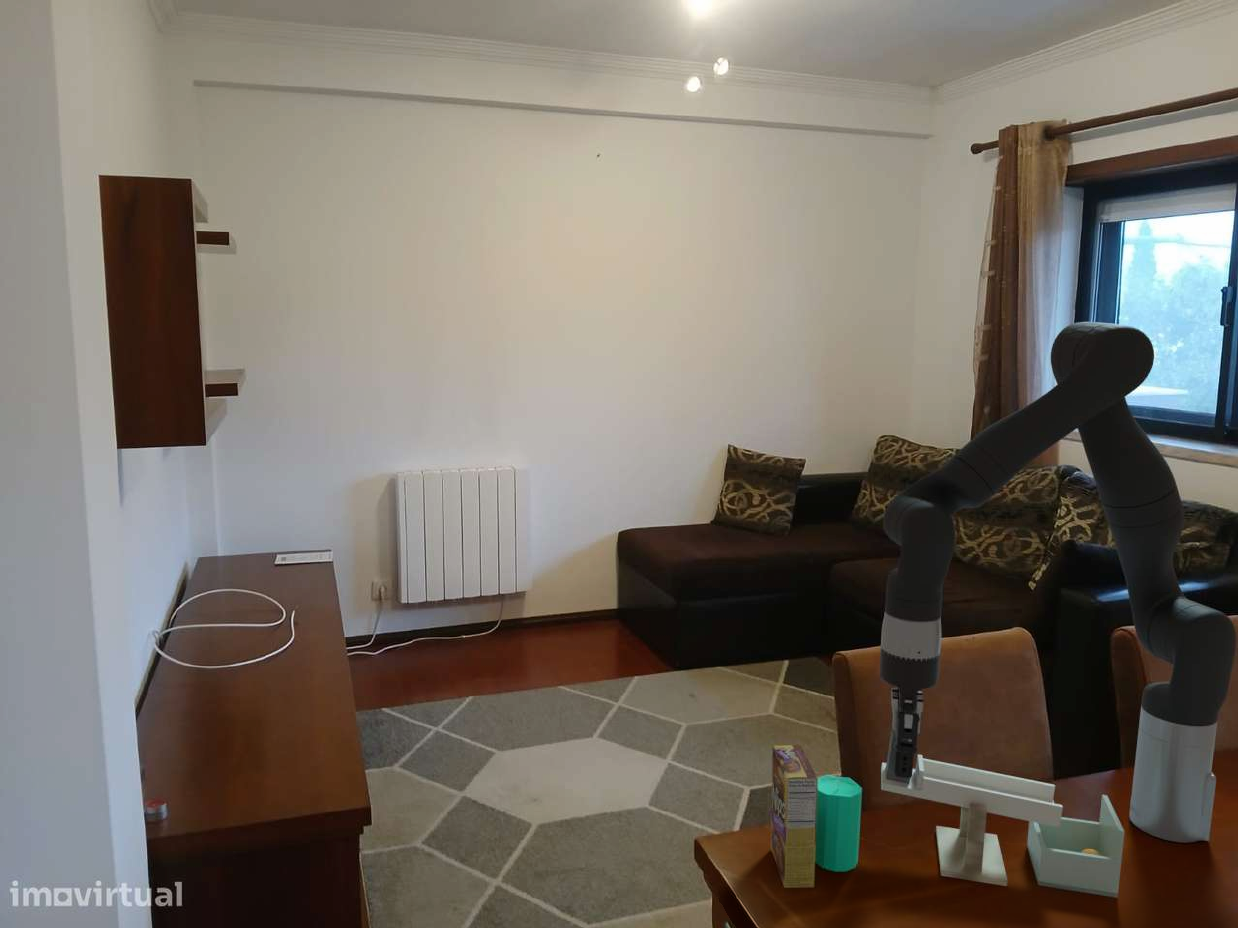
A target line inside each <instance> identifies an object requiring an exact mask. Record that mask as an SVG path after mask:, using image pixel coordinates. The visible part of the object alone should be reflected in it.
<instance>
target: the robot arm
mask: <svg viewBox="0 0 1238 928" xmlns="http://www.w3.org/2000/svg"><path fill="white" fill-rule="evenodd" d="M1154 361H1155V350H1154V346H1153V343H1152V340H1151V339H1150V338H1149V337H1148V335H1147V334H1146V333H1144V331H1142V330H1140V329H1139V328H1136V327H1133V326H1130V325H1127V324H1126V325H1125V324H1118V323H1109V322H1108V323H1107V322H1101V321H1100V322H1099V321H1097V322H1096V321H1081V322H1079V321H1078V322H1074V323H1072V324H1069V325H1067V326H1065V327H1063V329H1061V331H1060V332H1059V333H1058V334H1057V336H1056V337H1055V339H1054V341H1053V343H1052V346H1051V350H1050V366H1051V370H1052V374H1053V376H1054V380H1055V381H1056V385H1055V386H1053V388H1052V389H1050V390H1049V391H1048V392H1046V393H1045V394H1043V395H1042V396H1041V397H1039V398H1038V399H1036V400H1034V401H1032V402H1031V403H1029V404H1027V405H1026V406H1024V407H1022V408H1020V409H1018V410H1016V411H1015V412H1013V413H1011V414H1009V415H1007V416H1004V417H1003V418H1001V419H1000V420H998V421H995V422H994V423H993V424H991V425H989V426H988V427H987V428H985V429H983V430H982V431H981V432H979V433H978V434H976V435H975V436H974V437H973V438H972V439H970V441H968V443H966V444H965V445H964V446H963V447H962V448H961V449H959V450H958V451H957V452H956V453H955V454H954V455H953V456H952V457H951V458H950V459H949V460H947V462H946V463H944V464H943V465H942V466H941V467H940V468H938V469H936V470H934V471H933V472H930V473H929V474H927V475H926V476H924V477H922V478H921V479H919V480H917V481H916V482H914V483H913V484H911V485H909V487H907V488H905V489H904V490H902V491H901V492H900V493H899V494H897V496H895V498H894V499H892V500H891V502H890V503H889V505H888V506H887V507H886V509H885V512H884V514H883V520H882V521H883V522H882V523H883V529H884V531H885V533H886V536H888V538H889V539H890V540H891V541H892V542H894V543H896V544H897V545H898V546H900V555H899V562H898V567H895V568H894V569H892V570H891V571H890V572H889V574H888V577H887V581H886V591H885V606H884V616H883V621H882V627H881V636H880V637H881V638H880V639H881V640H880V653H879V654H880V655H879V672H878V674H879V677H880V678H881V680H882V681H883V682H885V683H886V684H888V685H890V686H895V687H893V688H891V695H890V696H891V697H890V698H891V699H890V701H891V708H892V709H891V716H892V727H893V730H894V731H895V732H896V743H895V745H894V747H895V750H896V758H895V775H896V776H897V777H903V778H911V777H912V770H913V769H914V768H913V767H914V758H913V756H914V757H915V755H916V754H917V752H918V747H917V744H918V734H920V732H921V717H922V716H921V715H922V713H923V711H924V699H923V691H922V690H928V689H932V688H934V687H935V686H937V684H938V682H939V673H940V662H941V661H940V660H941V659H940V658H941V645H942V624H941V623H942V621H941V620H942V619H941V617H942V605H943V604H942V603H943V602H942V601H943V585H944V581H945V579H946V578H947V574H948V572H949V568H950V565H951V562H952V558H953V554H954V551H955V548H956V547H955V546H956V537H957V535H956V525H955V522H954V519H953V517H952V516H953V515H955V514H956V513H958V512H960V511H961V510H963V509H976V508H979V507H980V506H982V505H984V504H985V503H986V502H988V501H990V500H991V498H992V497H993V496H995V495H996V494H997V493H998V492H999V491H1001V489H1002V488H1004V487H1005V486H1006V485H1007V484H1008V483H1009V482H1011V481H1012V479H1014V478H1015V476H1017V475H1018V474H1020V472H1021V471H1022V470H1024V469H1026V467H1027V466H1028V465H1029V464H1030V463H1032V462H1033V461H1034V460H1036V459H1037V458H1038V457H1039V456H1041V455H1042V454H1043V453H1045V452H1046V451H1048V449H1050V448H1052V446H1054V445H1055V444H1056V443H1058V442H1059V441H1061V440H1062V439H1064V438H1066V436H1068V435H1069V434H1071V433H1073V432H1074V431H1075V430H1077V431H1078V434H1079V436H1080V439H1081V442H1082V446H1083V448H1084V453H1085V456H1086V459H1087V461H1088V465H1089V468H1090V470H1091V473H1092V476H1093V479H1094V482H1095V485H1096V490H1097V493H1098V496H1099V500H1100V504H1101V506H1102V509H1103V513H1104V516H1105V519H1106V522H1107V525H1108V527H1109V529H1110V533H1111V535H1112V538H1113V541H1114V545H1115V548H1116V553H1117V555H1118V559H1119V562H1120V565H1121V568H1122V573H1123V575H1124V578H1125V579H1124V580H1125V583H1126V588H1127V593H1128V599H1129V604H1130V609H1131V610H1130V611H1131V615H1132V620H1133V625H1134V630H1135V633H1136V636H1137V639H1138V641H1139V642H1140V644H1141V646H1142V647H1143V648H1144V649H1145V650H1146V651H1147V652H1148V653H1150V654H1151V655H1152V656H1155V657H1156V658H1158V659H1161V660H1162V661H1165V662H1167V663H1169V664H1172V665H1173V667H1172V673H1171V677H1170V681H1157V682H1152V683H1149V684H1147V685H1146V686H1145V687H1144V689H1143V691H1142V695H1141V696H1142V697H1141V707H1140V714H1139V723H1138V724H1139V725H1138V732H1137V734H1138V735H1137V740H1136V741H1137V744H1136V751H1135V761H1134V771H1133V779H1132V787H1131V797H1130V804H1129V807H1130V809H1129V815H1128V816H1129V820H1130V821H1131V823H1132V824H1133V825H1134V826H1135V827H1136V828H1138V829H1139V830H1140V831H1142V832H1144V833H1146V834H1148V835H1151V836H1153V837H1155V838H1158V839H1162V840H1165V841H1169V842H1170V841H1171V842H1175V843H1176V842H1177V843H1185V844H1186V843H1194V842H1198V841H1205V842H1209V840H1210V833H1211V832H1210V831H1211V827H1212V826H1211V823H1212V816H1213V809H1214V800H1215V792H1216V784H1217V776H1216V775H1215V774H1214V773H1213V771H1212V767H1213V759H1214V752H1215V744H1216V734H1217V729H1218V728H1217V727H1218V718H1219V713H1220V710H1221V708H1222V707H1223V705H1224V703H1225V701H1226V699H1227V695H1228V692H1229V686H1230V682H1231V677H1232V671H1233V667H1234V666H1233V665H1234V660H1235V657H1236V650H1237V649H1236V648H1237V633H1236V628H1235V624H1234V622H1233V621H1232V620H1231V618H1230V617H1229V616H1228V615H1227V614H1225V613H1223V612H1222V611H1220V610H1217V609H1215V608H1211V607H1210V606H1207V605H1204V604H1201V603H1200V602H1199V603H1198V602H1196V601H1194V600H1190V599H1188V598H1187V597H1186V596H1185V595H1184V593H1183V591H1182V588H1181V586H1180V584H1179V582H1178V579H1177V575H1176V571H1175V568H1174V555H1175V554H1174V553H1175V552H1176V548H1177V546H1178V544H1179V543H1180V542H1179V541H1180V539H1181V537H1182V534H1183V531H1184V526H1185V517H1186V516H1185V510H1184V506H1183V502H1182V499H1181V495H1180V493H1179V492H1180V491H1179V488H1178V485H1177V481H1176V479H1175V476H1174V474H1173V471H1172V470H1171V467H1170V465H1169V463H1168V461H1166V459H1165V458H1164V456H1163V455H1162V453H1161V451H1160V450H1159V449H1158V448H1157V446H1156V445H1155V444H1154V442H1153V441H1152V440H1151V439H1150V438H1149V436H1148V435H1147V433H1146V432H1145V431H1144V430H1143V428H1142V427H1141V426H1140V424H1139V423H1138V422H1137V420H1136V419H1135V417H1134V415H1133V414H1132V412H1131V409H1130V407H1129V404H1128V402H1127V399H1126V397H1127V396H1128V395H1130V394H1131V393H1133V391H1135V390H1136V389H1138V388H1139V387H1140V386H1141V385H1142V384H1144V382H1145V381H1146V379H1147V378H1148V376H1149V375H1150V373H1151V371H1152V368H1153V365H1154ZM901 739H911V742H903V741H901Z"/></svg>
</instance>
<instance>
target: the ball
mask: <svg viewBox="0 0 1238 928" xmlns="http://www.w3.org/2000/svg"><path fill="white" fill-rule="evenodd" d="M1081 853H1086V854H1093V855H1099V856H1102V855H1101V854H1100V853H1099V852H1098V851H1096V850H1094V849H1085V850H1083V851H1082V852H1081Z"/></svg>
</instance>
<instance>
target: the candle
mask: <svg viewBox="0 0 1238 928" xmlns="http://www.w3.org/2000/svg"><path fill="white" fill-rule="evenodd" d="M862 795H863V787H861V786H860V785H859V784H858V783H857V782H855V781H854V780H853V779H851V778H850V777H843V776H841V774H838V776H834V775H829V774H825V775H823V776H822V777H820V778H819V777H818V784H817V817H816V848H815V864H817V865H818V866H819V867H821V868H823V869H824V868H825V869H824V870H828V871H832V872H835V873H836V872H848V871H851V870H853V869H855V868H856V867H857V864H858V862H859V847H860V831H861V816H862V815H861V814H862V813H861V812H862V797H863V796H862Z"/></svg>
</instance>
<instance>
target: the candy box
mask: <svg viewBox="0 0 1238 928" xmlns="http://www.w3.org/2000/svg"><path fill="white" fill-rule="evenodd" d="M771 755H772V758H771V759H772V760H771V761H772V762H771V763H772V766H771V767H772V769H771V771H772V774H771V776H772V777H771V811H770V812H771V813H770V814H771V817H770V822H771V825H770V826H771V827H770V851H771V853H772V855H773V858H774V861H775V863H776V867H777V869H778V874H779V875H780V878H781V882H782V885H783V888H784V889H806V888H807V889H812V888H814V887H815V876H816V875H815V874H816V873H815V868H816V863H815V848H816V817H817V784H818V779H819V777H818V776H817V773H816V772H815V770H814V769H813V767H812V765H811V763H810V761H809V759H808V757H807V755H806V753H805V752H804V750H803V747H802V745H801V744H798V745H796V744H792V745H788V744H787V745H773V746H772V754H771Z"/></svg>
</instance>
